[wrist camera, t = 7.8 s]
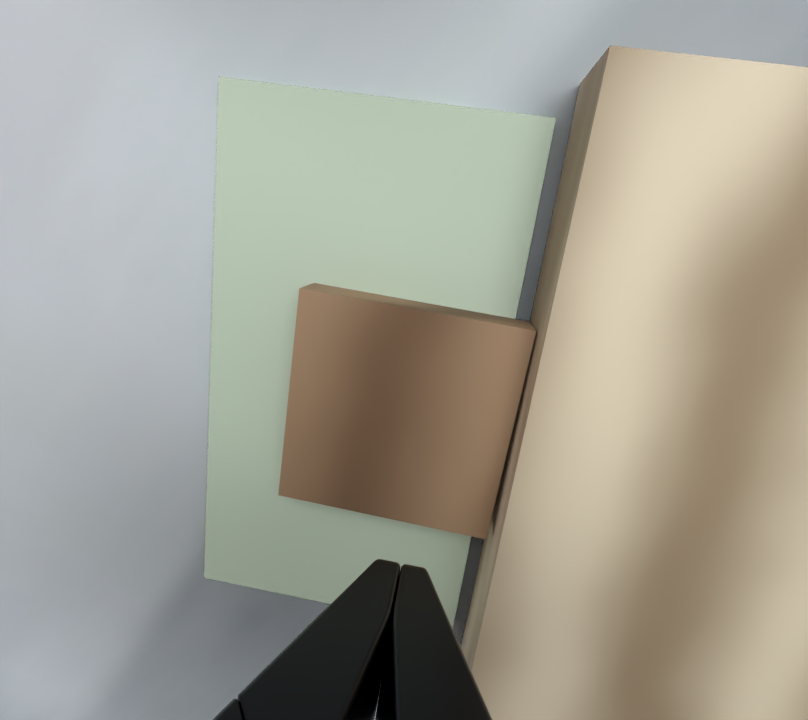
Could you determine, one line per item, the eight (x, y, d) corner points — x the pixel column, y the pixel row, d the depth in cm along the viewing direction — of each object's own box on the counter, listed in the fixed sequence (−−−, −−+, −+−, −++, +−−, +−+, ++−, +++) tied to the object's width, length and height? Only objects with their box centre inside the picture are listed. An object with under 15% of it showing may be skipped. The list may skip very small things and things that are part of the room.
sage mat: (554, 119, 14) (556, 118, 14) (452, 623, 19) (452, 629, 19) (223, 79, 15) (218, 76, 15) (207, 572, 20) (203, 577, 20)
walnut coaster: (529, 321, 15) (536, 330, 14) (484, 513, 17) (485, 539, 16) (314, 282, 16) (299, 288, 14) (293, 473, 18) (278, 495, 16)
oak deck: (1001, 133, 13) (1154, 106, 10) (752, 707, 18) (805, 796, 15) (579, 83, 14) (610, 45, 11) (461, 646, 19) (460, 720, 16)
